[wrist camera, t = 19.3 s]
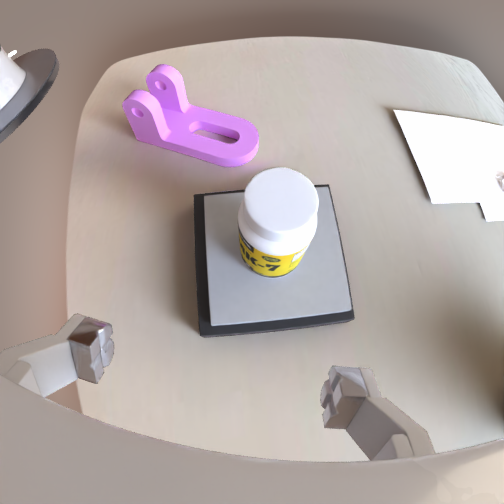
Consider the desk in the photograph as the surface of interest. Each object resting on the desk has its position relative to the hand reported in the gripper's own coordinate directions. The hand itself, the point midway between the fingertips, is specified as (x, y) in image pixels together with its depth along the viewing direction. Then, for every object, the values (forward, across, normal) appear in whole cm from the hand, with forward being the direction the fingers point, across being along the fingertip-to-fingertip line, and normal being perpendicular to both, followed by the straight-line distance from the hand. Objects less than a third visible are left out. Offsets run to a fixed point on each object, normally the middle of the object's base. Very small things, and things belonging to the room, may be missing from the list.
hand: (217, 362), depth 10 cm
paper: (+26, -29, -12) cm, 41 cm away
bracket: (+25, +7, -7) cm, 27 cm away
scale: (+16, -2, +2) cm, 17 cm away
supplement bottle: (+14, -2, +1) cm, 14 cm away
